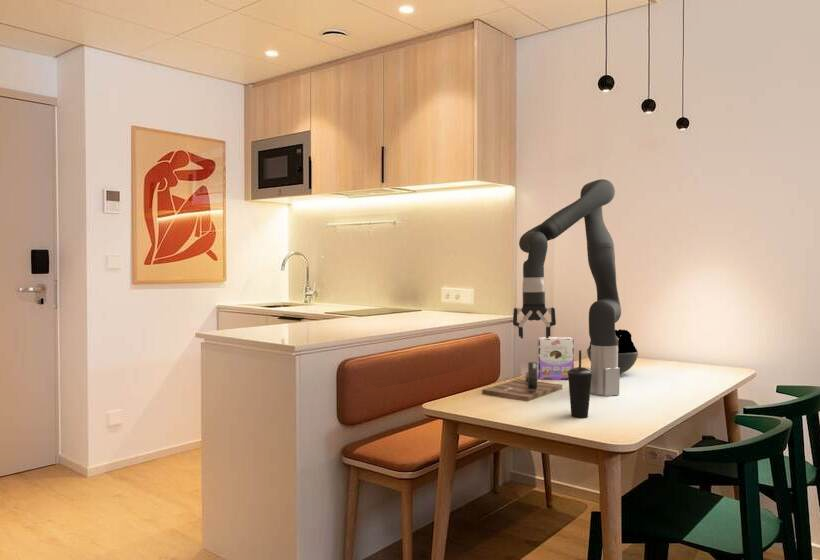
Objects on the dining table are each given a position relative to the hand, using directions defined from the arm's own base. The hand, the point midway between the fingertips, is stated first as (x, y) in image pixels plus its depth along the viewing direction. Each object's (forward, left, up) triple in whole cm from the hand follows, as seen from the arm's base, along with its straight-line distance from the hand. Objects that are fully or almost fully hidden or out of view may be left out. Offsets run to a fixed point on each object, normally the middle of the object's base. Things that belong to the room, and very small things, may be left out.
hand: (534, 338), depth 219 cm
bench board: (+10, -2, -21) cm, 23 cm away
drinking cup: (-27, +1, -21) cm, 34 cm away
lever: (+9, -5, -18) cm, 21 cm away
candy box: (+27, -27, -21) cm, 44 cm away
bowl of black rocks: (+26, -54, -21) cm, 64 cm away
